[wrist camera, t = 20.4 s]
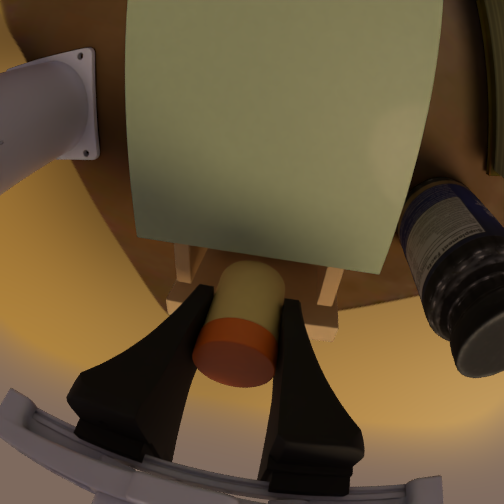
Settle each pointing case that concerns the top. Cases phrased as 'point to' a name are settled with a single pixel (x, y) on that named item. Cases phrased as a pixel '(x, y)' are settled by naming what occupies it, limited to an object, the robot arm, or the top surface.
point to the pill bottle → (457, 271)
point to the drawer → (293, 273)
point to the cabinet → (278, 123)
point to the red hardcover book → (494, 80)
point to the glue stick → (242, 326)
